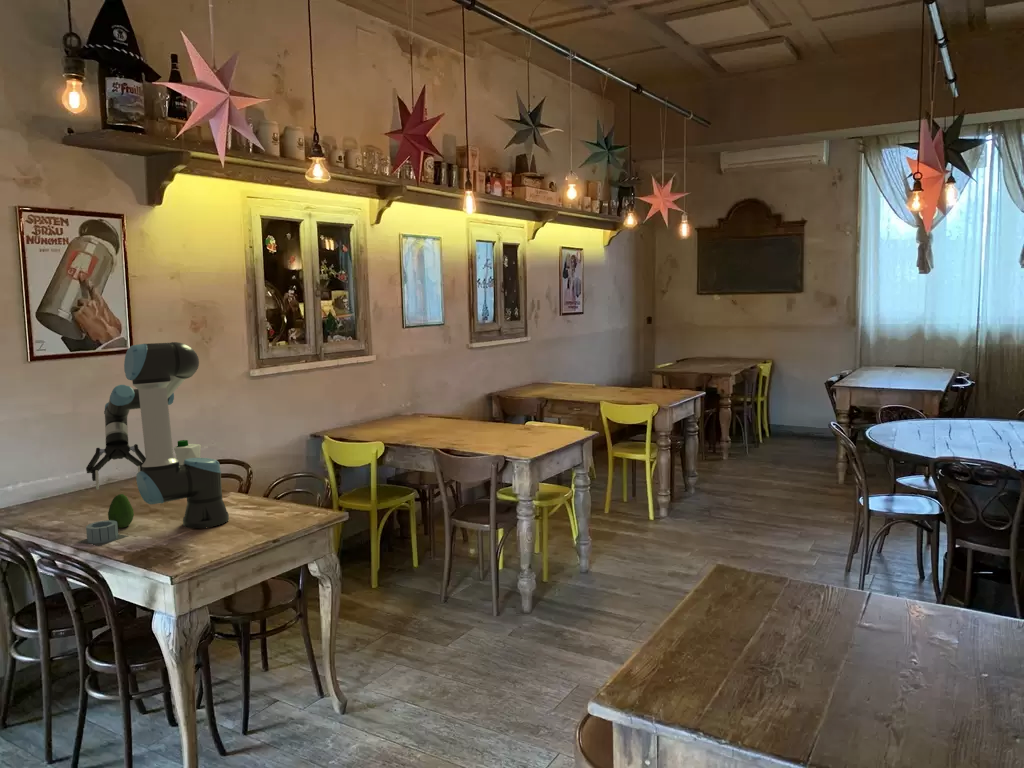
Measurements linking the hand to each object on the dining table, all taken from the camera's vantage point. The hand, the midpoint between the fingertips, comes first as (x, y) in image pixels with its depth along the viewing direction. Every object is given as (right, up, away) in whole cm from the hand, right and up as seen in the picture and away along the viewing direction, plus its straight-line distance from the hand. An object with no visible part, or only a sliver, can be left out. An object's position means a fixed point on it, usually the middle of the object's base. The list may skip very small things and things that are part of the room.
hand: (118, 485), depth 267 cm
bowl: (+5, -15, -20) cm, 26 cm away
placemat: (+5, -16, -20) cm, 26 cm away
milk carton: (+5, -8, +47) cm, 48 cm away
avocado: (+5, -14, -7) cm, 16 cm away
